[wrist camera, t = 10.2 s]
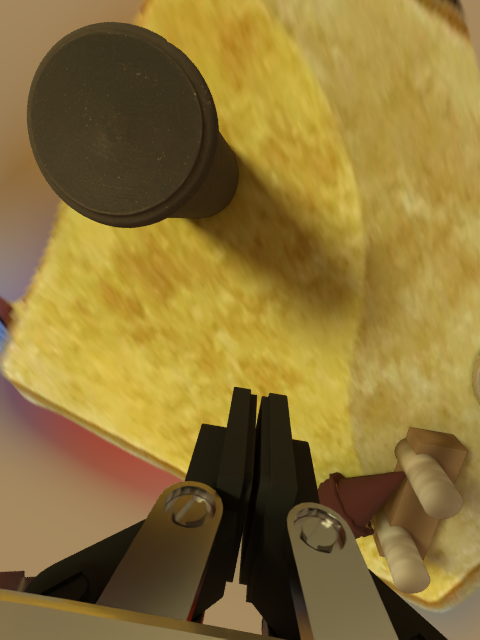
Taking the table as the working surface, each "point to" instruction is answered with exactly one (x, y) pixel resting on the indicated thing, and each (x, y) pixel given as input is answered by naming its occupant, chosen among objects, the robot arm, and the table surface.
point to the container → (128, 129)
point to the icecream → (358, 497)
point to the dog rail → (418, 504)
